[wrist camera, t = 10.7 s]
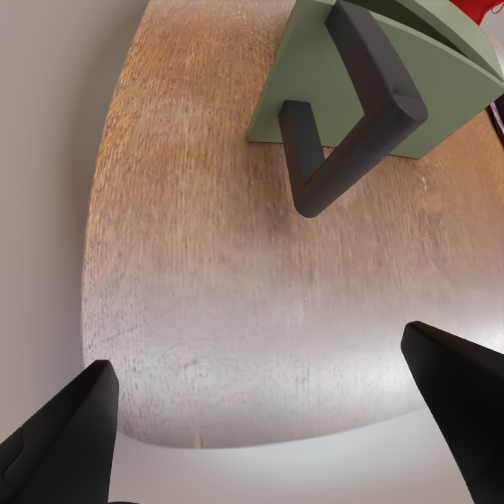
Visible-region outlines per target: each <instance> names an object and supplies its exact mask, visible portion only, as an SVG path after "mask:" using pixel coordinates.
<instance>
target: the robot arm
mask: <svg viewBox="0 0 504 504" xmlns="http://www.w3.org/2000/svg"><path fill="white" fill-rule="evenodd" d="M401 350H402V353H403V355H404V357H405V360H406V362H407V364H408V366H409V369H410V371H411V373H412V376H413V378H414V380H415V383H416V385H417V387H418V389H419V391H420V393H421V395H422V396H423V398H424V400H425V402H426V404H427V406H428V407H429V409H430V411H431V413H432V415H433V417H434V419H435V421H436V423H437V424H438V426H439V428H440V430H441V432H442V434H443V436H444V438H445V440H446V442H447V444H448V446H449V448H450V450H451V452H452V454H453V456H454V459H455V461H456V463H457V465H458V467H459V469H460V471H461V474H462V476H463V478H464V480H465V482H466V485H467V487H468V490H469V492H470V494H471V497H472V499H473V501H474V504H504V354H501V353H499V352H496V351H494V350H491V349H489V348H486V347H483V346H481V345H478V344H476V343H473V342H471V341H468V340H466V339H463V338H461V337H458V336H456V335H453V334H451V333H448V332H445V331H443V330H440V329H438V328H435V327H433V326H430V325H428V324H425V323H423V322H420V321H414V322H410V323H408V324H407V325H406V326H405V329H404V333H403V337H402V341H401ZM118 397H119V382H118V378H117V376H116V374H115V371H114V369H113V366H112V364H111V362H110V361H109V360H95V361H94V362H93V363H92V364H91V365H89V366H88V367H87V368H86V369H85V370H84V371H83V372H81V373H80V374H79V375H78V376H77V377H76V378H75V379H74V380H72V381H71V382H70V383H69V384H68V385H67V386H65V387H64V388H63V389H62V390H61V391H60V392H59V393H58V394H56V395H55V396H54V397H53V398H52V399H51V400H50V401H48V403H46V404H45V405H44V406H43V407H42V408H41V409H39V410H38V411H37V412H36V413H35V414H34V415H33V416H32V417H31V418H29V419H28V420H27V421H26V422H25V423H24V424H23V425H22V427H19V428H18V429H17V430H16V431H15V432H14V433H13V434H12V435H10V436H9V437H8V438H7V439H6V440H5V441H3V442H2V443H1V444H0V504H108V494H109V484H110V475H111V467H112V459H113V452H114V445H115V439H116V431H117V413H118Z"/></svg>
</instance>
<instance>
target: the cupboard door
mask: <svg viewBox="0 0 504 504" xmlns="http://www.w3.org/2000/svg"><path fill="white" fill-rule="evenodd" d="M503 93H504V84H503V82H501V81H500V80H499V79H497V78H496V77H494V76H493V75H492V74H490V73H489V72H487V71H486V70H484V69H483V68H481V67H480V66H478V65H477V64H475V63H474V62H472V61H471V60H469V59H468V58H466V57H464V56H463V55H461V54H459V53H458V52H456V51H454V50H453V49H451V48H449V47H447V46H446V45H444V44H442V43H440V42H438V41H436V40H435V39H433V38H431V37H429V36H427V35H425V34H423V33H421V32H419V31H417V30H415V29H412V28H410V27H408V26H406V25H404V24H401V23H399V22H397V21H394V20H392V19H390V18H387V17H385V16H382V15H380V14H377V13H374V12H372V11H369V10H368V9H366V8H363V7H360V6H358V5H355V4H352V3H348V2H345V1H342V0H299V2H298V4H297V6H296V9H295V11H294V13H293V16H292V18H291V20H290V23H289V25H288V28H287V30H286V32H285V35H284V37H283V40H282V42H281V44H280V47H279V49H278V52H277V54H276V57H275V59H274V62H273V64H272V67H271V69H270V72H269V75H268V77H267V80H266V82H265V85H264V87H263V90H262V93H261V95H260V98H259V101H258V103H257V106H256V109H255V111H254V114H253V117H252V119H251V122H250V125H249V127H248V130H247V140H248V141H253V142H276V143H283V145H284V151H285V156H286V161H287V167H288V172H289V178H290V184H291V189H292V195H293V201H294V206H295V208H296V210H297V212H298V213H299V214H301V215H302V216H304V217H307V218H313V217H316V216H317V215H318V214H320V213H321V212H322V211H323V210H324V209H325V208H327V207H328V206H329V205H330V204H331V203H332V202H334V201H335V200H336V199H337V198H338V197H339V196H341V195H342V194H343V193H344V192H345V191H346V190H348V189H349V188H350V187H351V186H352V185H353V184H354V183H356V182H357V181H358V180H359V179H360V178H361V177H363V176H364V175H365V174H366V173H367V172H368V171H370V170H371V169H372V168H373V167H374V166H375V165H376V164H378V163H379V162H380V161H381V160H382V159H383V158H384V157H386V156H387V155H388V154H391V155H398V156H404V157H409V158H415V159H420V158H422V157H423V156H424V155H425V154H427V153H428V152H429V151H431V150H432V149H433V148H435V147H436V146H437V145H439V144H440V143H441V142H442V141H444V140H445V139H446V138H448V137H449V136H450V135H452V134H453V133H454V132H455V131H457V130H458V129H459V128H461V127H462V126H463V125H464V124H466V123H467V122H468V121H470V120H471V119H472V118H473V117H475V116H476V115H477V114H478V113H480V112H481V111H482V110H483V109H485V108H486V107H487V106H489V105H490V104H491V103H492V102H494V101H495V100H496V99H497V98H499V97H500V96H501V95H502V94H503ZM322 146H329V147H336V148H335V149H334V151H333V152H332V153H331V154H330V155H329V156H328V158H327V159H326V160H325V157H324V153H323V149H322Z"/></svg>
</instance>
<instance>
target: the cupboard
mask: <svg viewBox="0 0 504 504" xmlns="http://www.w3.org/2000/svg"><path fill="white" fill-rule="evenodd" d="M342 1H345V2H348V3H352V4H355V5H358V6H360V7H363V8H366V9H368V10H369V11H372V12H374V13H377V14H380V15H382V16H385V17H387V18H390V19H392V20H394V21H397V22H399V23H401V24H404V25H406V26H408V27H410V28H412V29H415V30H417V31H419V32H421V33H423V34H425V35H427V36H429V37H431V38H433V39H435V40H436V41H438V42H440V43H442V44H444V45H446V46H447V47H449V48H451V49H453V50H454V51H456V52H458V53H459V54H461V55H463V56H464V57H466V58H468V59H469V60H471V61H472V62H474V63H475V64H477V65H478V66H480V67H481V68H483V69H484V70H486V71H487V72H489V73H490V74H492V75H493V76H494V77H496V78H497V79H499V80H500V81H501V82H503V83H504V77H503V74H502V70H501V67H500V64H499V62H498V59H497V56H496V53H495V50H494V48H493V45H492V43H491V40H490V38H489V36H488V35H487V34H486V33H485V32H484V31H483V30H482V29H481V28H480V27H479V26H478V25H477V24H476V23H475V22H474V21H473V20H471V19H470V18H469V17H468V16H467V15H466V14H465V13H463V12H462V11H461V10H460V9H459V8H458V7H456V6H455V5H454V4H453V3H451V2H450V1H449V0H342ZM298 2H299V0H296V2H295V5H294V7H293V9H292V12H291V14H290V16H289V19H288V21H287V24H286V26H285V29H284V31H283V33H282V36H281V38H280V41H279V43H278V46H277V49H276V51H275V55H276V54H277V52H278V49H279V47H280V44H281V42H282V40H283V37H284V35H285V32H286V30H287V28H288V25H289V23H290V20H291V18H292V16H293V13H294V11H295V9H296V6H297V4H298Z"/></svg>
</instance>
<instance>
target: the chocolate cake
mask: <svg viewBox="0 0 504 504" xmlns="http://www.w3.org/2000/svg"><path fill="white" fill-rule="evenodd" d="M489 110H490V113H491V114H492V116H493V117H494V120H495V125H496V130H497V133H498V135H499V136H500V138H501V139H502V141H503V143H504V93H503V94H502V95H501V96H500V97H499V98H497V99H496V100H495V101H494V102H492V103H491V104H490V105H489Z"/></svg>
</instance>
